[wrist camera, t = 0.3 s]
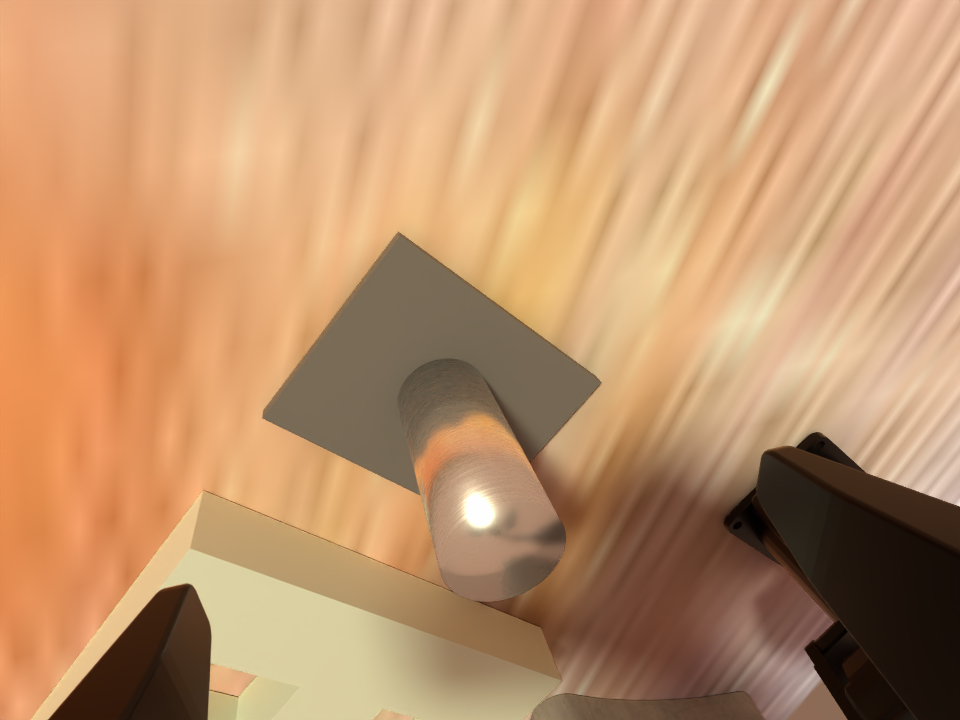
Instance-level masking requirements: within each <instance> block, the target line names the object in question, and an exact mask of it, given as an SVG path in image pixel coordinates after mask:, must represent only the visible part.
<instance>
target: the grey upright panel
mask: <svg viewBox="0 0 960 720" xmlns="http://www.w3.org/2000/svg"><path fill="white" fill-rule="evenodd" d="M531 720H765V718H764V717H763V715H762V714H761V712H760V711H759V710H758V708H757V707H756V705H755V704H754V702H753V701H752V699H751V698H750V696H749V695H748V694H747V693H745V692H732V693H727V694H721V695H714V696H708V697H699V698H688V699H674V700H616V699H603V698H594V697H586V696H580V695H574V694H561V695H557V696H554V697H551V698H549V699H547V700H545V701H544V702H542V703H541V704H540V705H539V706H538V707H537V708H536V709H535V710H534V712H533V713H532V716H531Z"/></svg>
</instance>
